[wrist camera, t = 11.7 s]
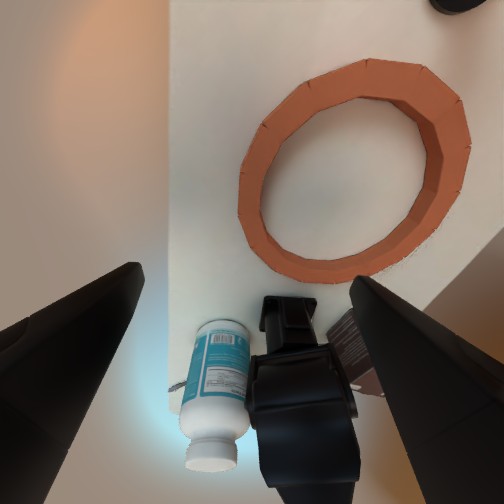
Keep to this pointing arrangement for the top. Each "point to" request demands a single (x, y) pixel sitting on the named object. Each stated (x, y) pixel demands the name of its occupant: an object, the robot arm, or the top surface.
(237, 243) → the top surface
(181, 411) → the pill bottle
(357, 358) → the box
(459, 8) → the post stand
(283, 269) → the ring
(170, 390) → the pen
